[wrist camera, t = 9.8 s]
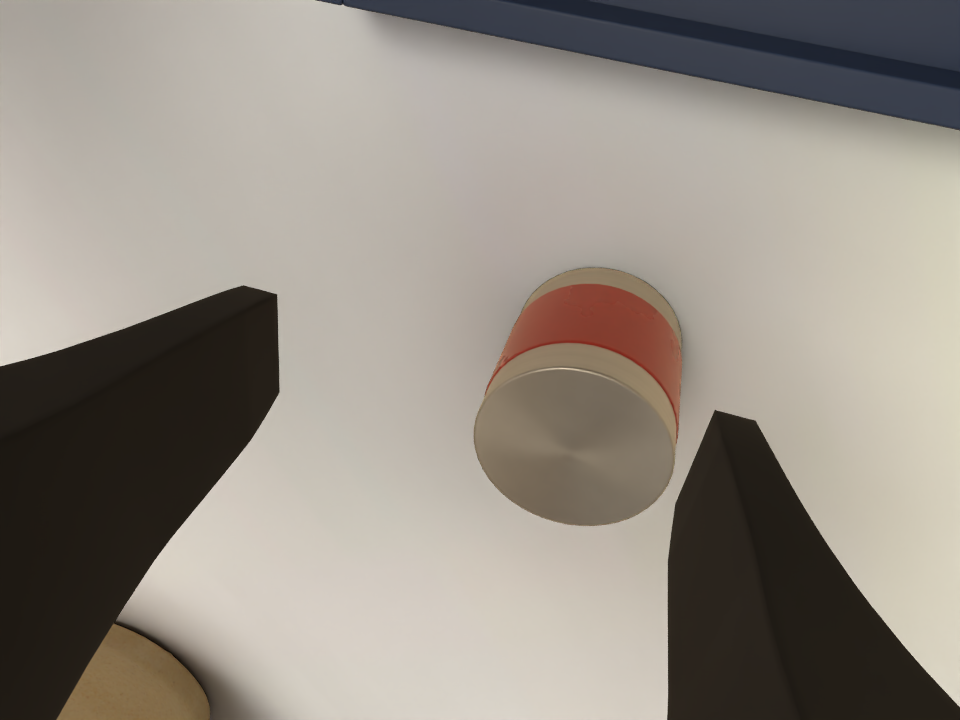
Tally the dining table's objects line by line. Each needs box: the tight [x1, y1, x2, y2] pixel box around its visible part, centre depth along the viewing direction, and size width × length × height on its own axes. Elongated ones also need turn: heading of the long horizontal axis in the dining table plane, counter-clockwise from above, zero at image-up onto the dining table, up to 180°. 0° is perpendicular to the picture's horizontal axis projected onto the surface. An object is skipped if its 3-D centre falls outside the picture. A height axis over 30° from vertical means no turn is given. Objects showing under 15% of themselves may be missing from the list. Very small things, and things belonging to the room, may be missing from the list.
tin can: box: [474, 268, 682, 526], centre depth 19 cm, size 5×5×5 cm
